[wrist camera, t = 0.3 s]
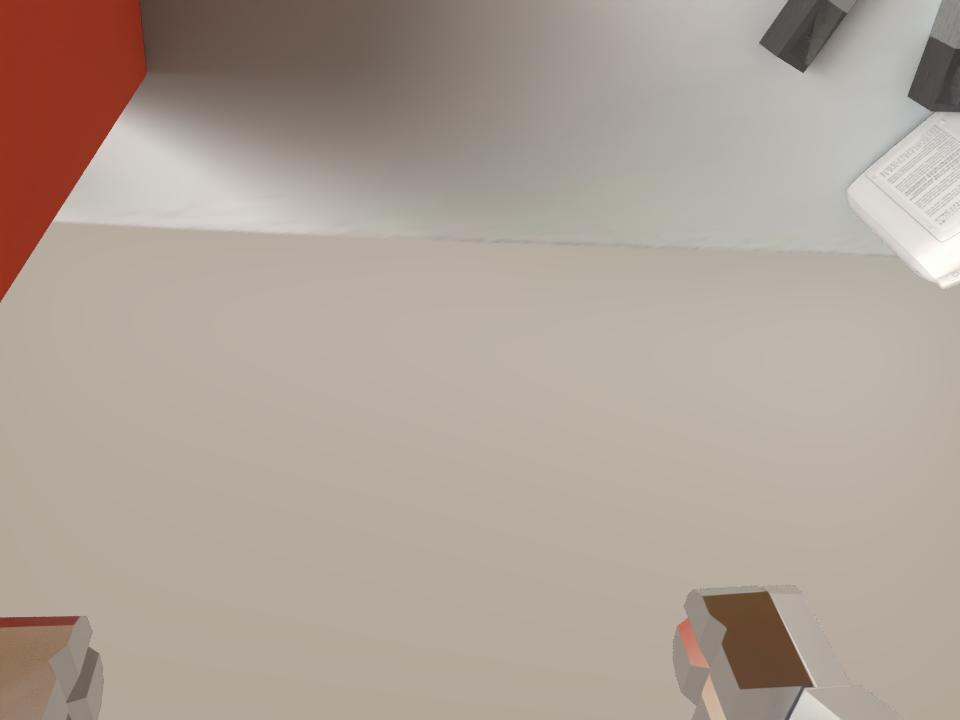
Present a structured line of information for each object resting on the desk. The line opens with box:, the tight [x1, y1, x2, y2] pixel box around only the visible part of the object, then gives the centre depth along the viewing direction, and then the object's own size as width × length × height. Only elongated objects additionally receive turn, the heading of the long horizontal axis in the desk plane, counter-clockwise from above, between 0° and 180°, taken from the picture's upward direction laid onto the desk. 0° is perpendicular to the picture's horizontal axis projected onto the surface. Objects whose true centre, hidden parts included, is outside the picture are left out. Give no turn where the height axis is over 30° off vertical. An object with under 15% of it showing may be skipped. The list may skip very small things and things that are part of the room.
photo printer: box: [847, 112, 960, 289], centre depth 56 cm, size 10×4×12 cm, turn 137°
